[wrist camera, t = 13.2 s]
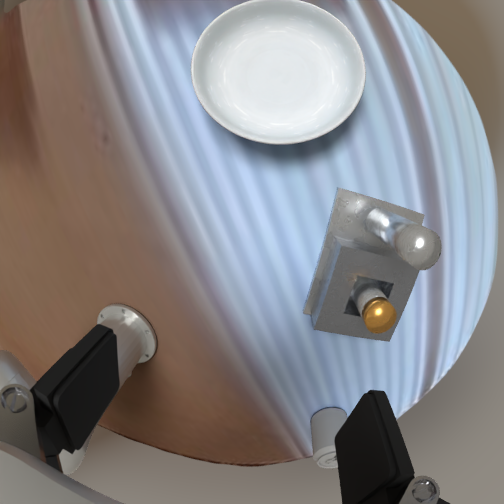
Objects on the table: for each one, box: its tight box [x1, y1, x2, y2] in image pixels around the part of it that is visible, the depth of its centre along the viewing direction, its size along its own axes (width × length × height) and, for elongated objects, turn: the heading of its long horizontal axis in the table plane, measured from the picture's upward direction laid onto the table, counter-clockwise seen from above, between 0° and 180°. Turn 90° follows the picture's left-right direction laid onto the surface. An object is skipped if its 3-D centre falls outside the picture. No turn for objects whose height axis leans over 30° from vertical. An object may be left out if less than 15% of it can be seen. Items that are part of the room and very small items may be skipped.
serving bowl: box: [191, 0, 366, 145], centre depth 30 cm, size 21×21×7 cm
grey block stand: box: [303, 187, 441, 341], centre depth 32 cm, size 19×14×15 cm
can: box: [311, 408, 347, 468], centre depth 43 cm, size 8×8×12 cm
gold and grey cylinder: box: [350, 275, 397, 334], centre depth 34 cm, size 4×4×10 cm
